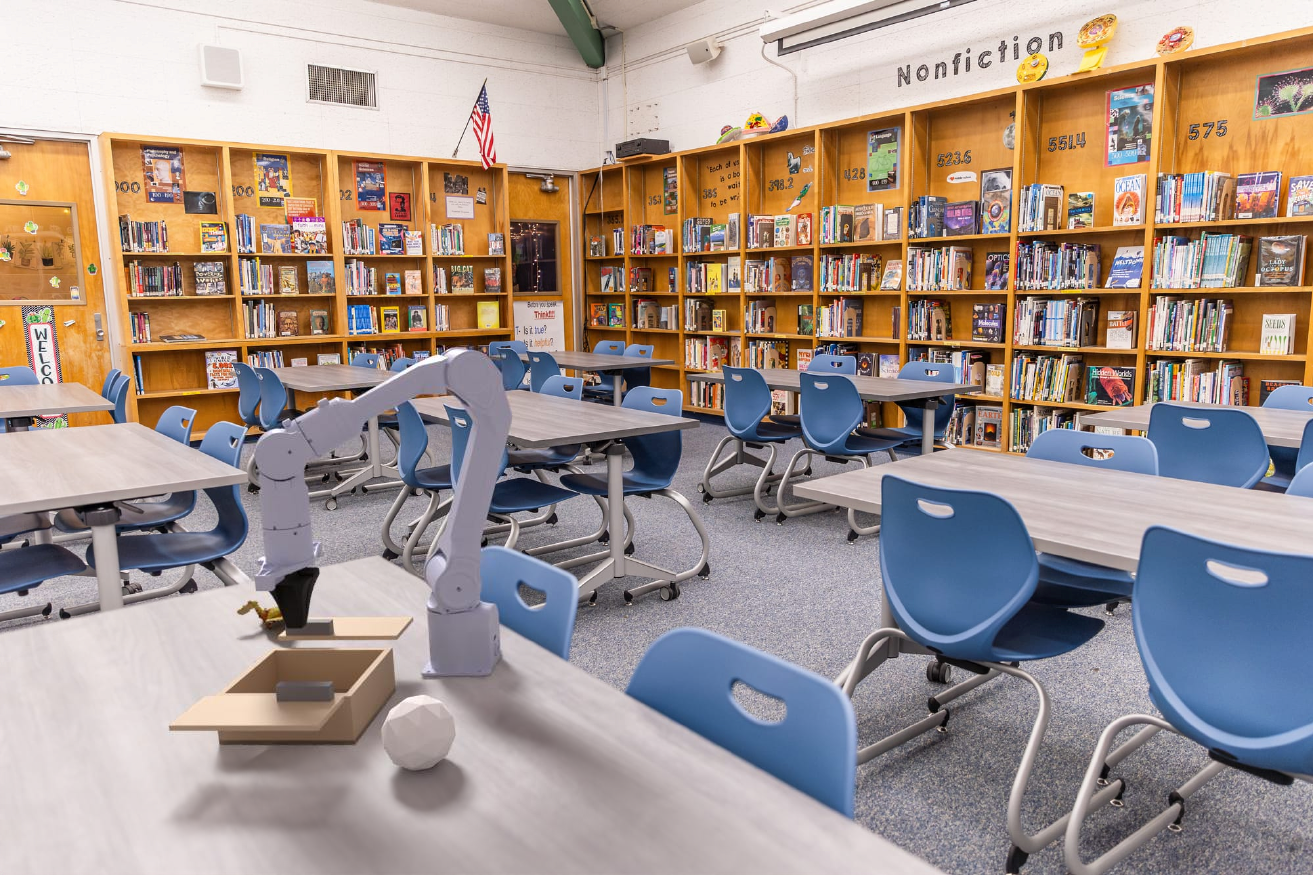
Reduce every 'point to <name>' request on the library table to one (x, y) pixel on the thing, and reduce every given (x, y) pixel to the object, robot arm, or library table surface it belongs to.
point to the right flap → (349, 628)
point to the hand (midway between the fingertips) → (296, 626)
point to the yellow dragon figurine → (262, 612)
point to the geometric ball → (418, 732)
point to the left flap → (264, 710)
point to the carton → (351, 670)
